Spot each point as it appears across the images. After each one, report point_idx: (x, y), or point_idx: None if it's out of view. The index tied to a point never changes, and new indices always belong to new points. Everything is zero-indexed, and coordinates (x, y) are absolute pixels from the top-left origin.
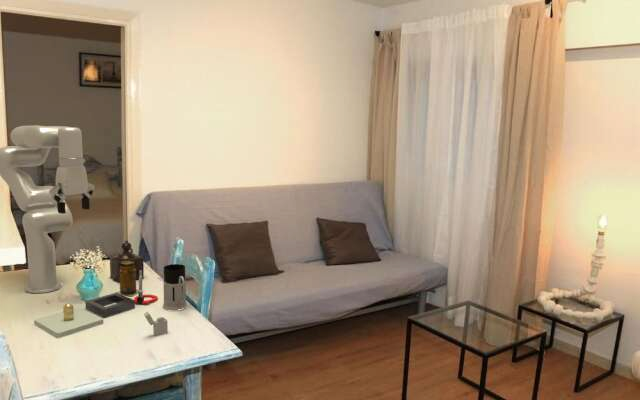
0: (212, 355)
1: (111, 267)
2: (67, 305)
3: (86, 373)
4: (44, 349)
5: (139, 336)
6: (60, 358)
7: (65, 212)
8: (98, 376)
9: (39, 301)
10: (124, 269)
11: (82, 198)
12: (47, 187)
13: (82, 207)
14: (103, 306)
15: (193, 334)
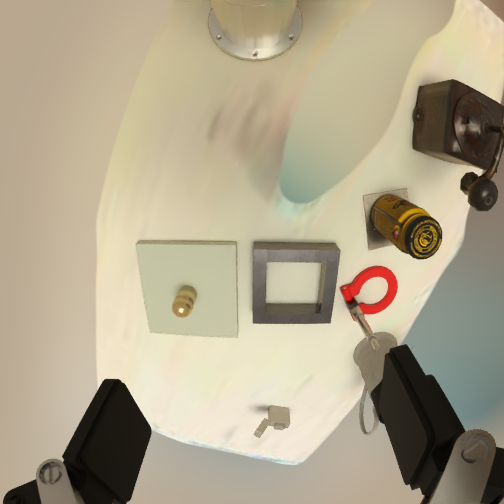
0: (276, 461)
1: (435, 92)
2: (176, 315)
3: (153, 417)
4: (127, 344)
5: (250, 399)
6: (138, 377)
7: (149, 433)
8: (161, 427)
9: (200, 108)
10: (401, 244)
11: (424, 450)
12: None
13: (388, 363)
14: (263, 308)
15: (304, 430)
